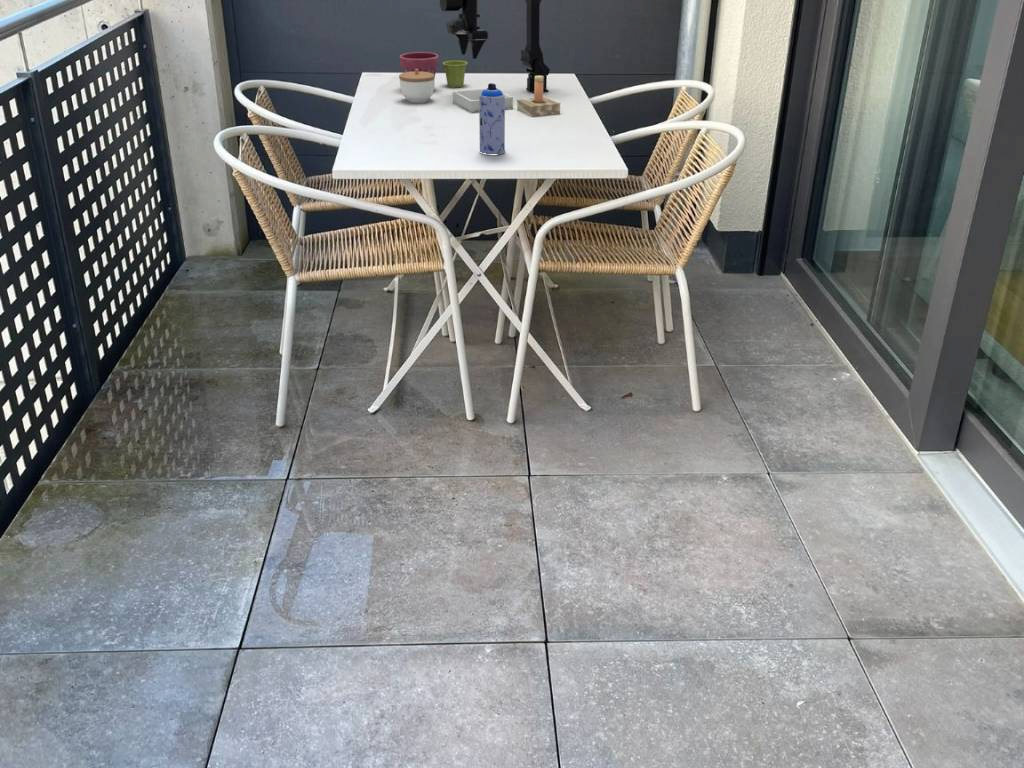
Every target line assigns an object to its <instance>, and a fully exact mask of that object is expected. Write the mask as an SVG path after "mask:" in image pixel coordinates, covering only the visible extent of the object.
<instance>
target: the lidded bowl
mask: <svg viewBox="0 0 1024 768" xmlns="http://www.w3.org/2000/svg"><path fill="white" fill-rule="evenodd" d="M398 78H399V86H400V87H399V88H400V91H401V93H402V94H401V95H403V97H404V98H405V99H406V100H407V102H409V103H413V104H422V103H427V102H428V101H429V100H430V98H431V97H432V95H433V93H434V90H435V78H436V74H435V75H434V74H433V73H430V72H420V71H418V69H415V72H405V73H404V72H403V73H400V74H399V75H398ZM426 101H427V102H426Z"/></svg>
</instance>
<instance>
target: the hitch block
mask: <svg viewBox="0 0 1024 768" xmlns="http://www.w3.org/2000/svg"><path fill="white" fill-rule="evenodd" d="M516 104H517V106H516V107H517V108H516V110H517V111H518V112H520V113H522V114H525V115H527V116H529V117H530V118H532V117H542V116H543V117H544V116H552V115H560V114H561V103H560V102H558V101H555V100H554V99H551V98H549V97H547V96H543V103H534V97H533V98H523V99H517V103H516Z"/></svg>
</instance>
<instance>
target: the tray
mask: <svg viewBox="0 0 1024 768" xmlns="http://www.w3.org/2000/svg"><path fill="white" fill-rule="evenodd" d="M485 89H486V88H482V89H481V88H480V89H473V90H472V89H471V90H460V91H459V90H458V91H452V103H455V104H456V106H457V105H458V106H457V107H459V106H460V107H459V108H461V107H462V108H461V109H463V110H464V109H465V110H464V111H466V110H467V111H466V112H468V111H469V112H468V113H470V112H475V113H479V97H480V94H481V93H482V92H483V90H485ZM502 93H503V94H504V97H505V110H513V109H514V97H513V96H512V95H509V94H507V93H506V92H503V91H502ZM455 104H454V105H455Z"/></svg>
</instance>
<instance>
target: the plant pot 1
mask: <svg viewBox="0 0 1024 768" xmlns="http://www.w3.org/2000/svg"><path fill="white" fill-rule="evenodd" d="M399 63H400V67H401V68H402V70H403V71H402V72H403V73H405V72H415V69H418V71H420V72H430V73H433V74H434V75H435V76H436V72H437V68H438V67H439V66H440V65H439V63H440V60H439V54H437V53H435V52H429V51H412V52H406V53H402V54H400V55H399Z"/></svg>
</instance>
